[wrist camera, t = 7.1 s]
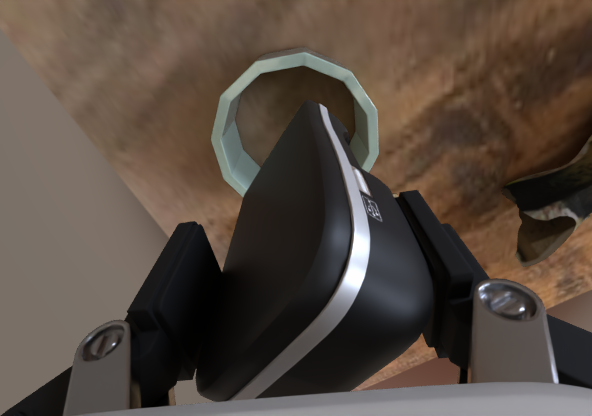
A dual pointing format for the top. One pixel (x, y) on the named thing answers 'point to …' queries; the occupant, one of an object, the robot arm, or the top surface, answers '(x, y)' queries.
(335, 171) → the battery charger
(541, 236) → the sculpture
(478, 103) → the top surface
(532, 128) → the top surface
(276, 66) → the pen cup
